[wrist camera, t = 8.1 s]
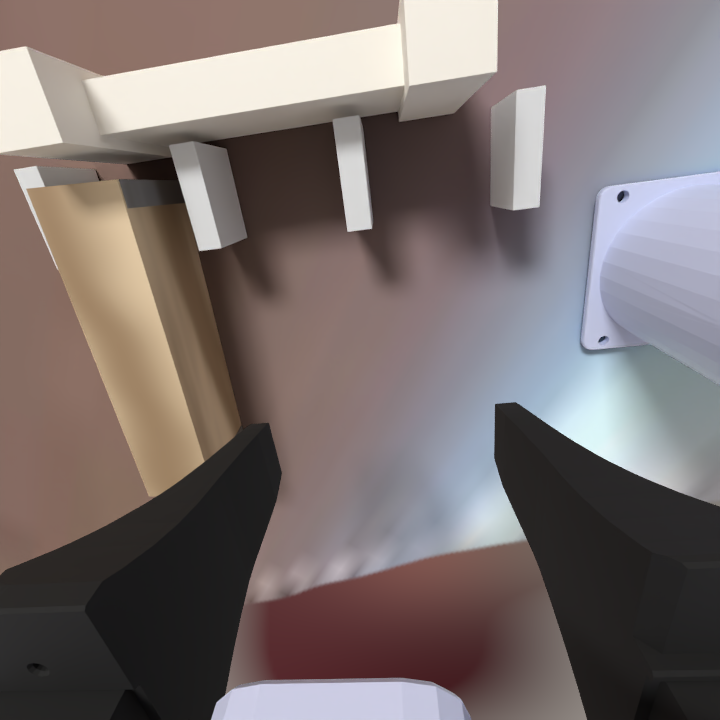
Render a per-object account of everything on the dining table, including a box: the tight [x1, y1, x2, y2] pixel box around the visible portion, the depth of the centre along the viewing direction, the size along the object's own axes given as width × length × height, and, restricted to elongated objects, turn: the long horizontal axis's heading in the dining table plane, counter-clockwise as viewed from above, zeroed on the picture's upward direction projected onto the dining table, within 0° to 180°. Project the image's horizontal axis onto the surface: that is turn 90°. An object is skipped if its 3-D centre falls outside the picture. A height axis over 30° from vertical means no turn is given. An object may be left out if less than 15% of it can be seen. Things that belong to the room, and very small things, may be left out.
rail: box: [26, 179, 243, 496], centre depth 20 cm, size 4×15×5 cm, turn 5°
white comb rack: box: [0, 0, 546, 269], centre depth 15 cm, size 21×6×7 cm, turn 97°
